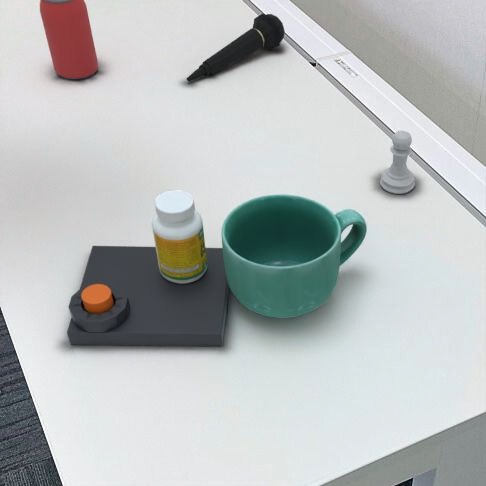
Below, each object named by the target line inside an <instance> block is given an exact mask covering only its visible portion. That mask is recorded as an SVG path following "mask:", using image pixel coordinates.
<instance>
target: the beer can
mask: <svg viewBox="0 0 486 486" xmlns="http://www.w3.org/2000/svg"><path fill="white" fill-rule="evenodd" d="M88 11H89V10H88V7H87V4H86V2H85V0H40V1H39V13H40V17H41V21H42V25H43V29H44V33H45V38H46V42H47V46H48V49H49V55H50V58H51V62H52V65H53V69H54V71H55V73H56V74H57V75H58V76H60V77H62V78H64V79H68V80H82V79H87V78H89V77H91V76H92V75H94V74H95V73H96V72H97V71H98V69H99V61H98V57H97V51H96V47H95V40H94V36H93V31H92V27H91V22H90V16H89V12H88Z"/></svg>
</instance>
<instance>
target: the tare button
mask: <svg viewBox="0 0 486 486" xmlns="http://www.w3.org/2000/svg"><path fill="white" fill-rule="evenodd" d="M81 297H82V301H83V304H84V308H85V310H86V311H87V312H89V313H92V314H101V313H104V312H107V311H109V310H110V309H111V308H112V306H113V303H114V302H113V298H112V293H111V290H110V288H109V287H107V286H106V285H102V284H95V285H91V286H89V287H87V288H85V289H84V290H83V292H82V295H81Z"/></svg>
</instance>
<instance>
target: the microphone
mask: <svg viewBox="0 0 486 486" xmlns="http://www.w3.org/2000/svg"><path fill="white" fill-rule="evenodd" d="M285 32H286V31H285V26H284V23H283V22H282V20H281V19H280V18H279V17H278V16H276V15H275V14H272V13H266V14H265V13H261V14H259V15H257V16H256V17H255V18H254V19H253V24H252V27H251V28H250V29H248V30H247V31H246V32H244V33H243V34H240V36H238V37H237V38H235V39H234V40H232V41H231V42H229V43H228V44H227V45H225V46H223V47H222V48H220V49H219V50H218V51H217V52H215V53H214V54H212V55H211V56H210V57H208V58H206V59H205V60H204V61H202V63H201V64H200V65H199V66H198V68H196V70H194V71H193V72H192V73H191V74H189V76H188V77H186V81H187V82H188V83H190V82H192V81H195V80H198V79H200V78H202V77H205V78H206V77H208V76H213V74H215V73H217V72H220V71H221V70H223V69H226V68H228V67H229V66H231V65H232V64H235V63H236V62H238V61H241V60H242V59H244V58H245V57H248V56H250V55H252V54H253V53H256V52H257V51H259V50H261V49H263V48H264V49H267V50H270V51H272V50H274V49H276V48H278V47H280V46H281V42H283V39H284V38H285Z"/></svg>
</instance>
